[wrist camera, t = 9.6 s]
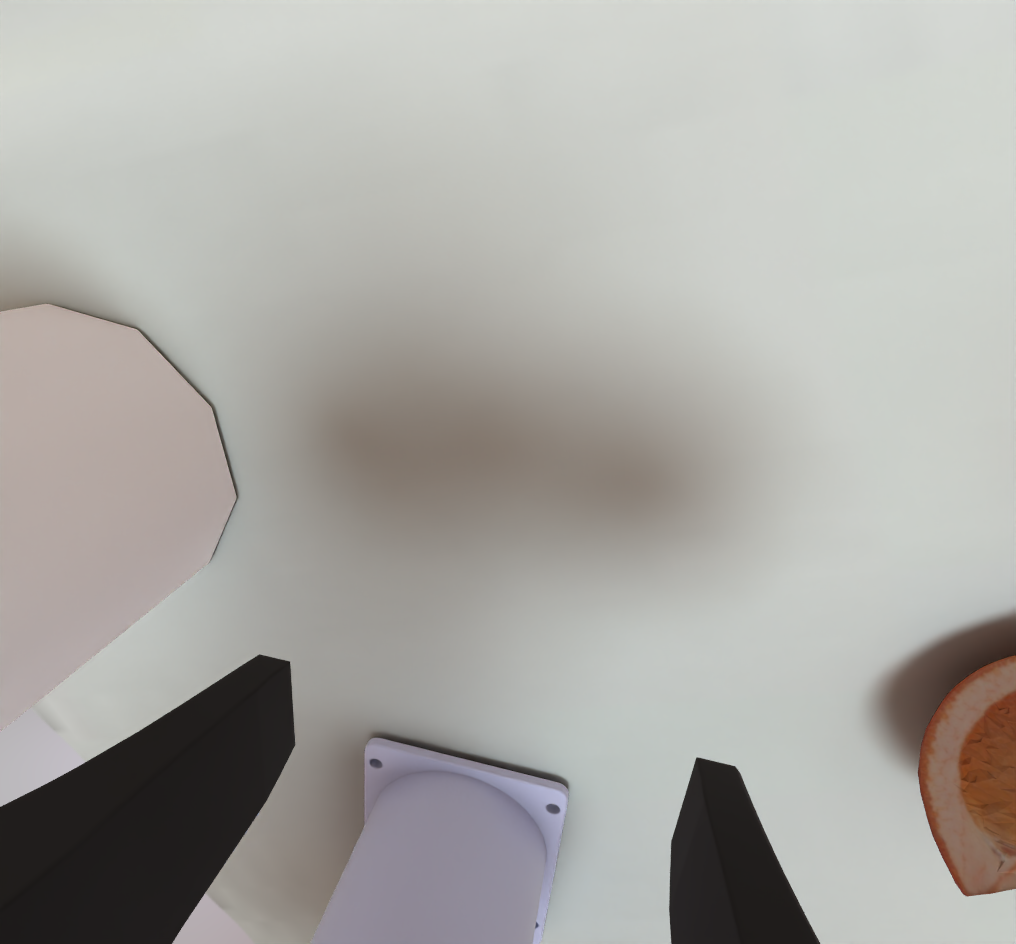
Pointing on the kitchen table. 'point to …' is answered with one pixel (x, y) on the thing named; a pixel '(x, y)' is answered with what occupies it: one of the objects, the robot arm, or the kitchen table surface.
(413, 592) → the kitchen table surface
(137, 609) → the toilet paper
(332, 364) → the kitchen table surface
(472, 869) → the robot arm
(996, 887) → the fruit slice
